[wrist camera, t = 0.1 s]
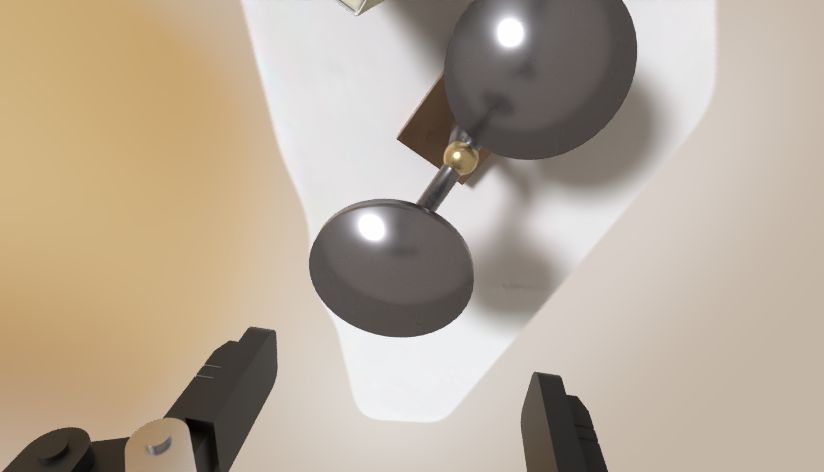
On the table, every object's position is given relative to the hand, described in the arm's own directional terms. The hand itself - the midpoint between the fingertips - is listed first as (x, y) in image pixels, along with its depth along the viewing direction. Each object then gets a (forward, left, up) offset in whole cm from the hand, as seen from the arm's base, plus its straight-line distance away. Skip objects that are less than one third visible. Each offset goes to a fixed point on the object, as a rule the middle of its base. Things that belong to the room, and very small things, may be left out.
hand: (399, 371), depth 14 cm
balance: (-1, +1, -22) cm, 22 cm away
